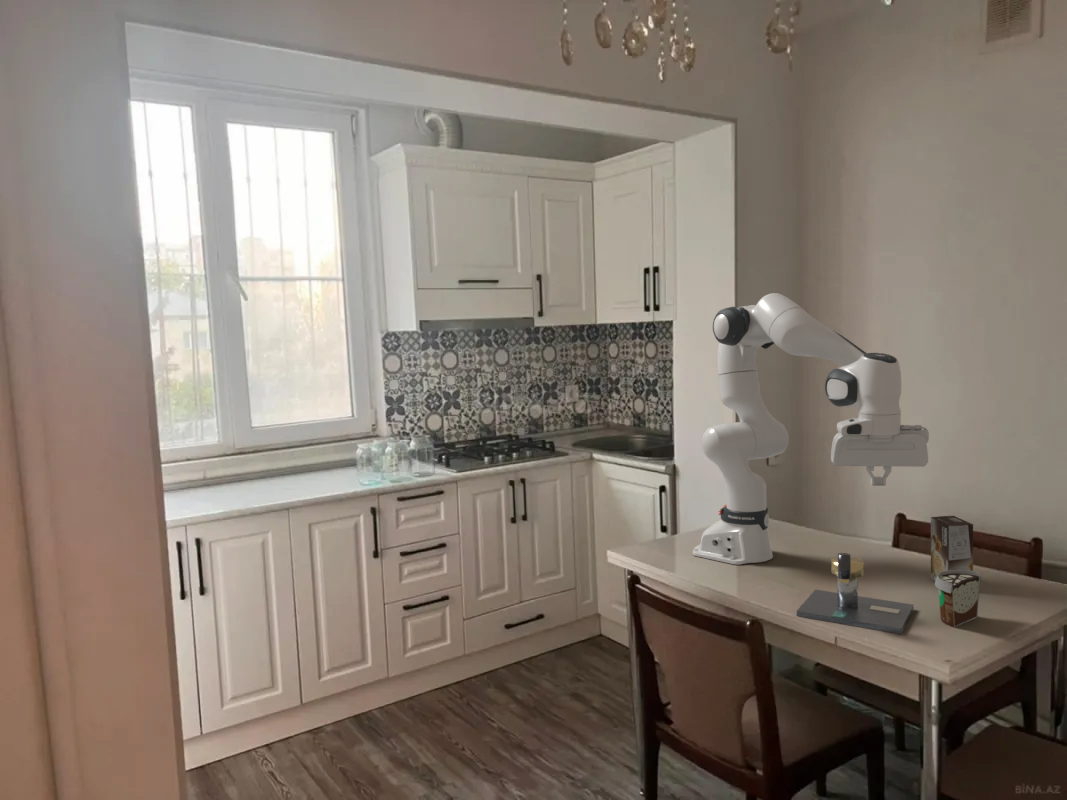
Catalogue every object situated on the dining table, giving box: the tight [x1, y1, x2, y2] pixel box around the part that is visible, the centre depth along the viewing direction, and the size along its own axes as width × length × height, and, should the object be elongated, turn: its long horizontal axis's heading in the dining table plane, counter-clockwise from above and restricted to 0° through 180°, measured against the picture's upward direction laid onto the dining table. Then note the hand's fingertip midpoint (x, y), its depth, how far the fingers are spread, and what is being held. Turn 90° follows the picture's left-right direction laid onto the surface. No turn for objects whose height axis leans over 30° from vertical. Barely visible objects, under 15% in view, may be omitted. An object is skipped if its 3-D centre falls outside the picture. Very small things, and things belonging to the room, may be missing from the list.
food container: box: [934, 570, 982, 628], centre depth 173 cm, size 12×6×10 cm, turn 123°
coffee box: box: [930, 515, 974, 582], centre depth 195 cm, size 9×6×16 cm
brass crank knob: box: [830, 552, 865, 583], centre depth 177 cm, size 13×7×7 cm, turn 154°
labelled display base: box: [796, 576, 915, 635], centre depth 178 cm, size 22×16×8 cm
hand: (878, 485), depth 178 cm, fingers closed
